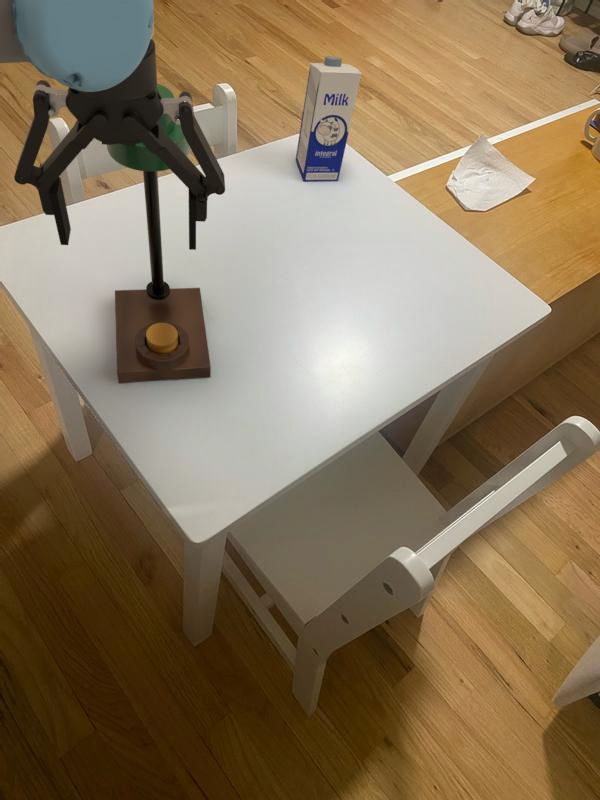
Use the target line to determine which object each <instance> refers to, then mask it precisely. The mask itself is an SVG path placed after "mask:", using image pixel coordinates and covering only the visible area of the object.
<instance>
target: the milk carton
mask: <svg viewBox="0 0 600 800" xmlns="http://www.w3.org/2000/svg"><path fill="white" fill-rule="evenodd" d="M342 60H343V58H342V57H339V56H333V55H332V56H330V55H329V56H325V57H324V61H323V62H308V63H309V68H308V75H307V82H306V88H305V94H304V101H303V102H304V103H303V108H302V114H301V122H300V129H299V135H298V142H297V147H296V156H295V162H296V165H297V167H298V168H297V169H298V171H299V173H300V175H301V179H302V181H303V182H338V181H339V177H340V172H341V169H342V164H343V159H344V155H345V151H346V146H347V141H348V138H349V132H350V129H351V123H352V119H353V114H354V109H355V106H356V101H357V96H358V91H359V88H360V83H361V78H362V75H363V73H362V72H361V71H360V69H358V68H356V67H354V66H353V65H351V64H349V63H342Z"/></svg>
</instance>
